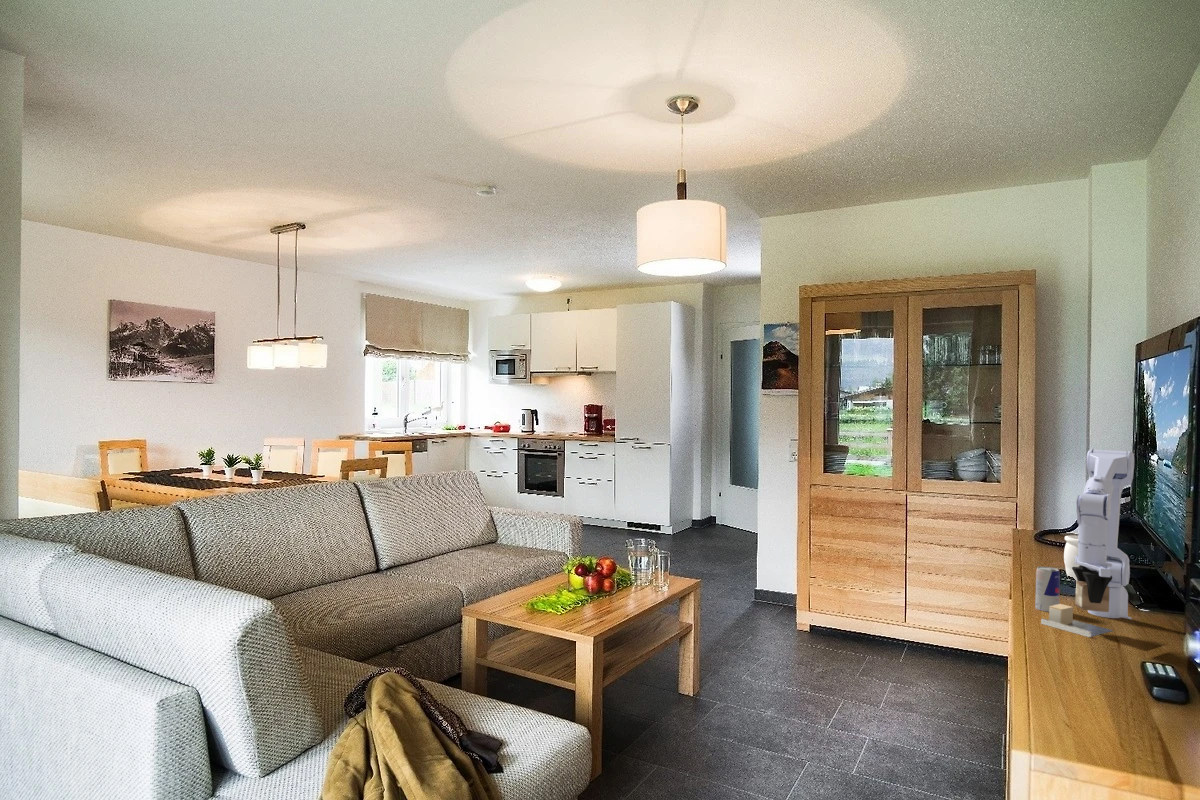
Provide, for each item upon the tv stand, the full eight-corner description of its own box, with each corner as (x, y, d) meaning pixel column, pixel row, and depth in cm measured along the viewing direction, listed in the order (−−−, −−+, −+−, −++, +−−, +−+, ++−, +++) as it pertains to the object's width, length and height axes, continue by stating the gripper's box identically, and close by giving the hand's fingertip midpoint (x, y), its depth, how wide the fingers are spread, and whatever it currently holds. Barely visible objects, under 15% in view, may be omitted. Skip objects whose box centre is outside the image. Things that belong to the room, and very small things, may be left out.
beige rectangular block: (1059, 619, 181) (1060, 603, 181) (1072, 622, 178) (1072, 606, 178) (1048, 622, 179) (1048, 606, 179) (1060, 625, 176) (1061, 609, 176)
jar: (1098, 584, 222) (1099, 536, 222) (1110, 593, 213) (1111, 542, 213) (1059, 581, 226) (1060, 533, 226) (1068, 589, 216) (1069, 539, 216)
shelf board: (1065, 622, 183) (1065, 613, 183) (1113, 635, 173) (1113, 625, 173) (1040, 628, 177) (1041, 618, 177) (1089, 642, 168) (1089, 632, 168)
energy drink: (1062, 617, 187) (1063, 571, 187) (1039, 615, 188) (1041, 570, 188) (1053, 611, 192) (1054, 567, 192) (1031, 610, 193) (1033, 565, 193)
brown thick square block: (1074, 605, 175) (1075, 580, 175) (1101, 607, 174) (1101, 582, 174) (1081, 609, 171) (1082, 584, 171) (1108, 612, 170) (1109, 586, 170)
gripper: (1126, 551, 165) (1124, 610, 165) (1097, 539, 179) (1096, 593, 179) (1091, 548, 166) (1089, 607, 166) (1066, 537, 180) (1064, 591, 180)
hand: (1091, 600), depth 173 cm, fingers closed on brown thick square block, 4 cm apart
